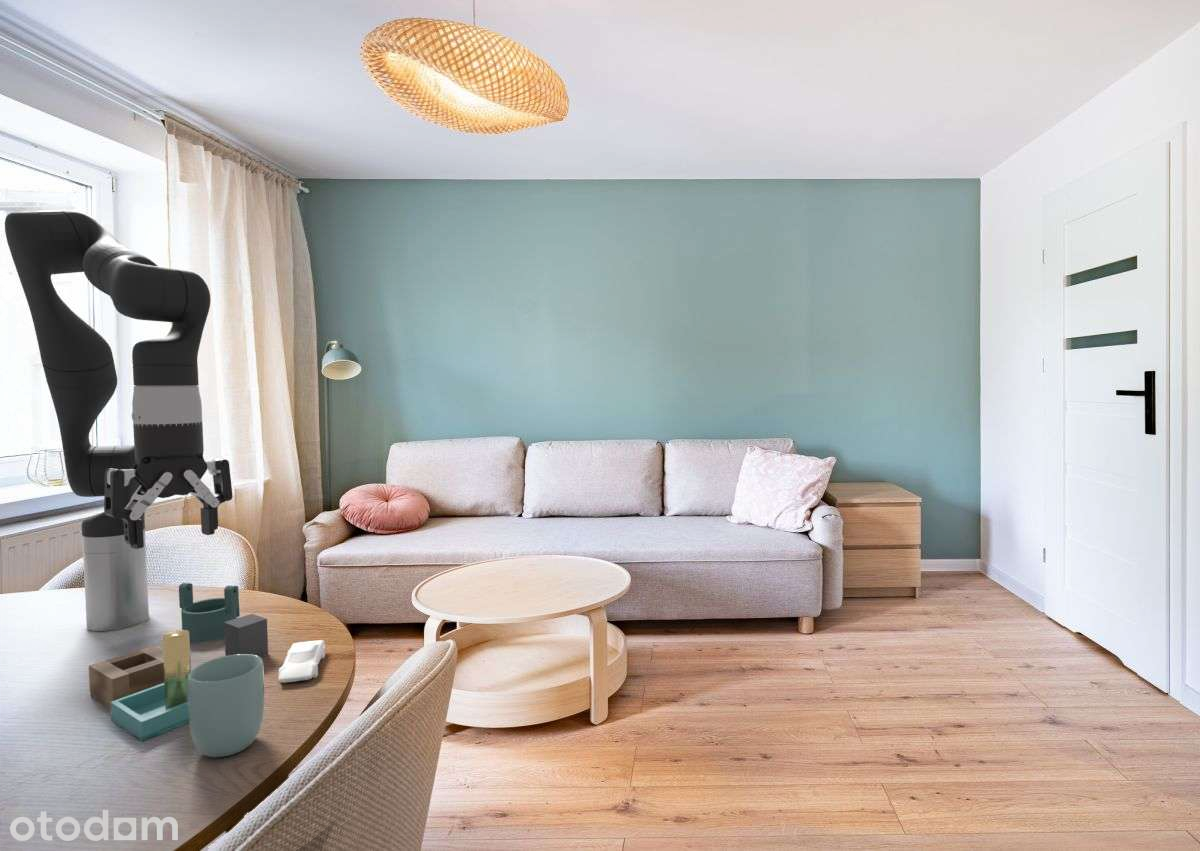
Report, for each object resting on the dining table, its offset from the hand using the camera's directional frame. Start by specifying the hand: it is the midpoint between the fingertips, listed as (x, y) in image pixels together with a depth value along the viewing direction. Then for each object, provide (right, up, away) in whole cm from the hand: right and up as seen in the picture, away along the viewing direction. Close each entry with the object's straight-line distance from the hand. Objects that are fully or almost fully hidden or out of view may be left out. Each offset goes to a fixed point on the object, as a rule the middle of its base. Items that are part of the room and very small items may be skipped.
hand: (174, 540), depth 82 cm
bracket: (-13, -22, +28) cm, 38 cm away
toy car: (+11, -23, +14) cm, 29 cm away
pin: (0, -23, +1) cm, 23 cm away
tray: (0, -23, +1) cm, 23 cm away
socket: (-10, -23, +6) cm, 26 cm away
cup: (+12, -24, -8) cm, 28 cm away
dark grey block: (-1, -22, +18) cm, 29 cm away
